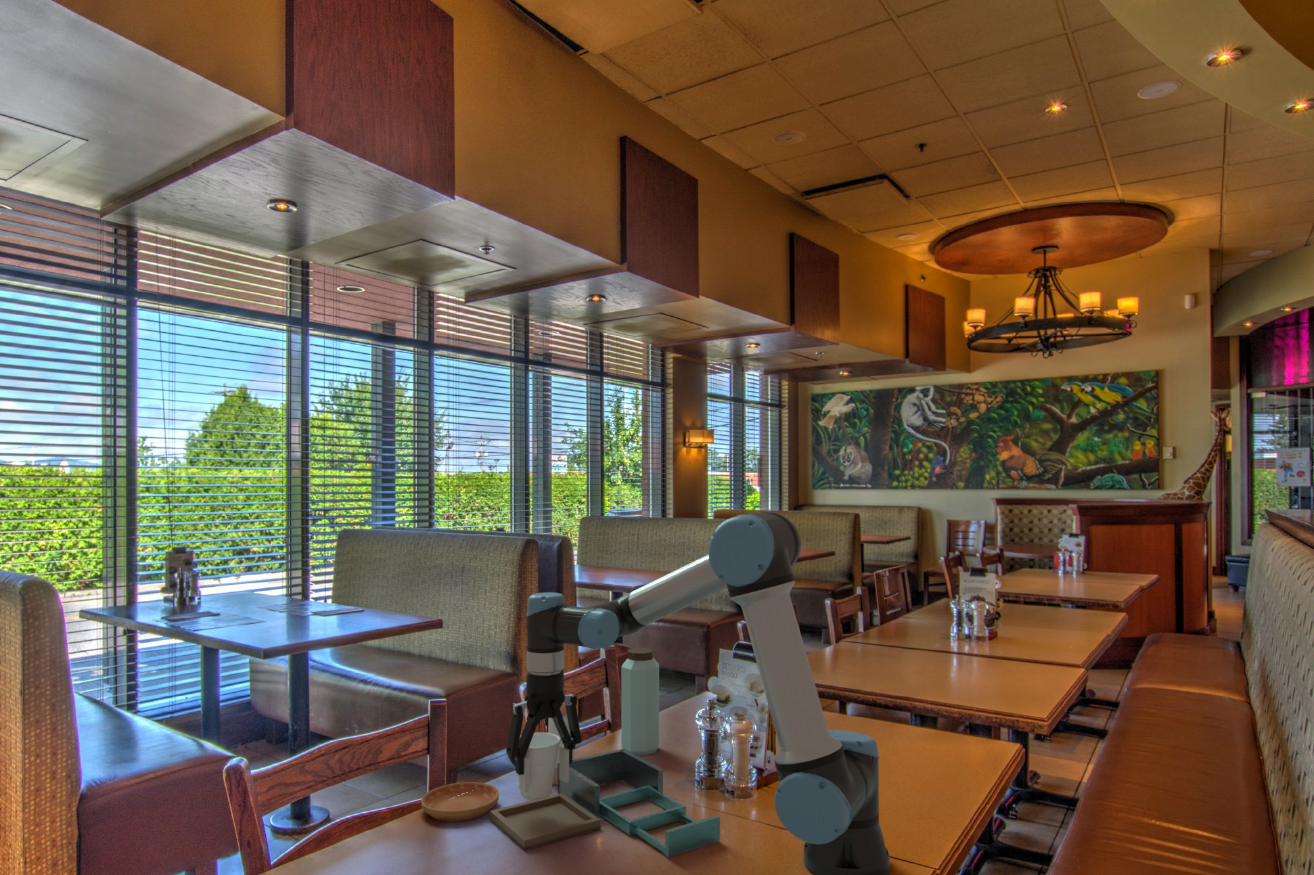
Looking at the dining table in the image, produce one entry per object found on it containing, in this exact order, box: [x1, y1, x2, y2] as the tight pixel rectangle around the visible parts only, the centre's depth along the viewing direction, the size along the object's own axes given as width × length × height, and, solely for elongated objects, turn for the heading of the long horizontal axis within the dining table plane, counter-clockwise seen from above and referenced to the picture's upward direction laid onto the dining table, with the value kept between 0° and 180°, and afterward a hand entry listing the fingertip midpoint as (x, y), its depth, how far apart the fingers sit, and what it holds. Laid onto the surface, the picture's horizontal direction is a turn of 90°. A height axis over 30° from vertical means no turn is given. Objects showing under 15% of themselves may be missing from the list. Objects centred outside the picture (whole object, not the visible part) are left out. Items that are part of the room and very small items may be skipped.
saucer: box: [420, 781, 500, 822], centre depth 171 cm, size 16×16×3 cm
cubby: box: [556, 748, 664, 819], centre depth 177 cm, size 16×17×6 cm
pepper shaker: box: [547, 702, 576, 786], centre depth 188 cm, size 7×7×19 cm
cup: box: [514, 732, 561, 801], centre depth 166 cm, size 10×10×11 cm
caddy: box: [599, 786, 721, 858], centre depth 162 cm, size 26×14×4 cm, turn 34°
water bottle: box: [620, 647, 660, 756], centre depth 208 cm, size 10×10×25 cm
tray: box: [489, 793, 602, 851], centre depth 163 cm, size 16×16×2 cm
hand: (544, 785), depth 163 cm, fingers closed on cup, 8 cm apart
